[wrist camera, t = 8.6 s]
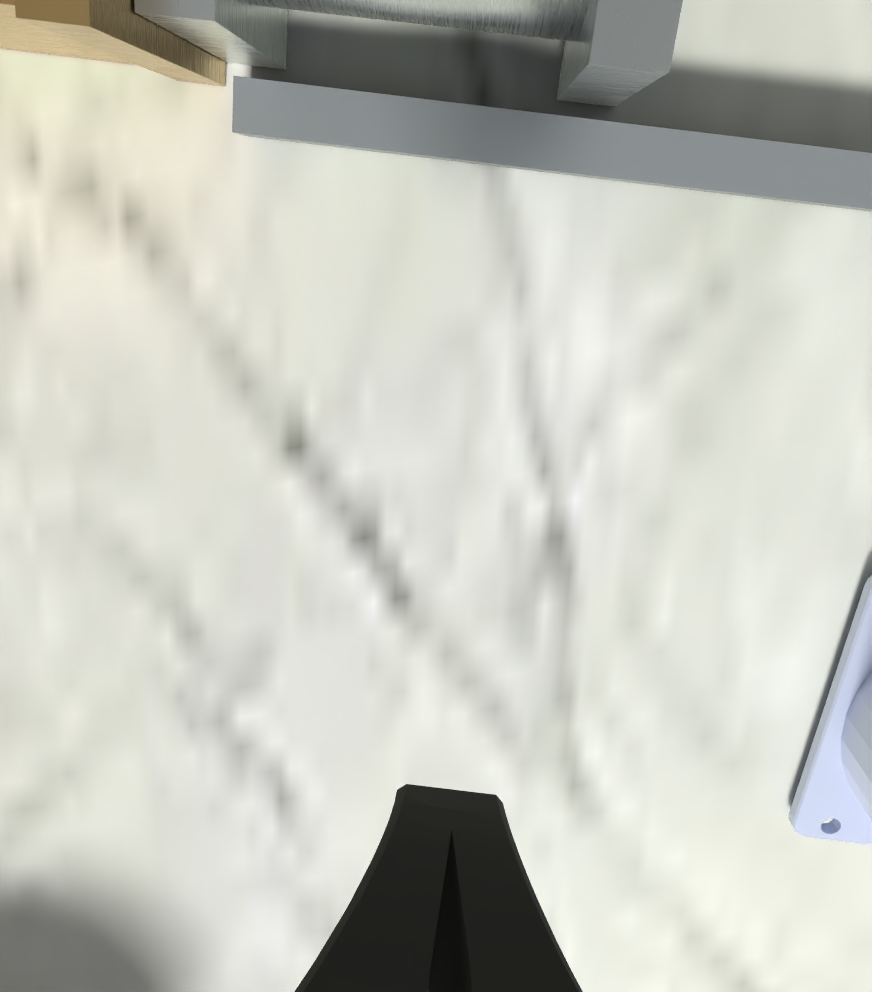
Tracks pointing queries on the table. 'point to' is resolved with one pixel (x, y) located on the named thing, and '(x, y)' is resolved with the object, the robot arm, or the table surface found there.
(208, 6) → the spool
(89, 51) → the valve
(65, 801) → the table surface
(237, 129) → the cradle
